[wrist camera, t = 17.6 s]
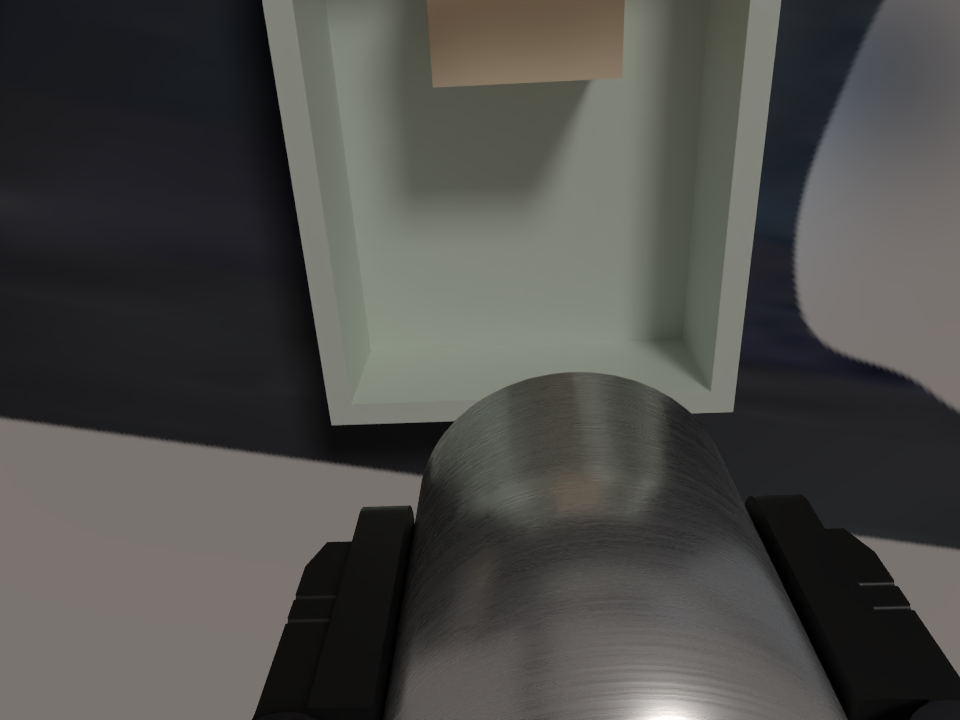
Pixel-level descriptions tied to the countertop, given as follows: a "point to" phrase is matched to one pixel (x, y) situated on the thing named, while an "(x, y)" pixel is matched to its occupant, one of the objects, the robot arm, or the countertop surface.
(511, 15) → the beech cube
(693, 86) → the tote
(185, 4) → the countertop surface
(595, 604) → the grey metal cylinder
